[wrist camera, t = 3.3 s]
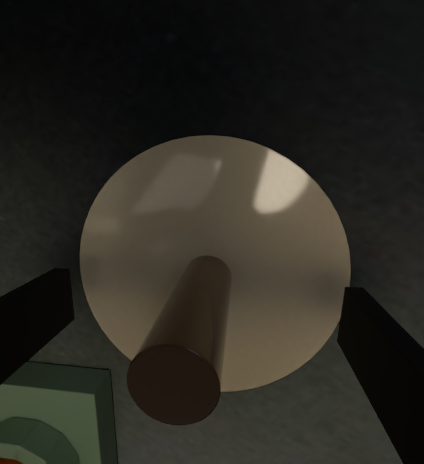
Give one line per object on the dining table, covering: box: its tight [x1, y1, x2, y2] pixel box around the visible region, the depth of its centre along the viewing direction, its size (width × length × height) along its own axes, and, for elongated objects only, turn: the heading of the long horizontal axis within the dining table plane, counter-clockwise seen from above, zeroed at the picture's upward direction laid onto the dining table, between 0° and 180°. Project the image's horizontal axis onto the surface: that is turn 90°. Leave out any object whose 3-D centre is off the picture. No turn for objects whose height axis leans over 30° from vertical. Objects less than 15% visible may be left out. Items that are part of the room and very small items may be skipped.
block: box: [0, 362, 118, 464], centre depth 19 cm, size 12×10×4 cm
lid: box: [80, 135, 351, 425], centre depth 12 cm, size 16×16×9 cm
